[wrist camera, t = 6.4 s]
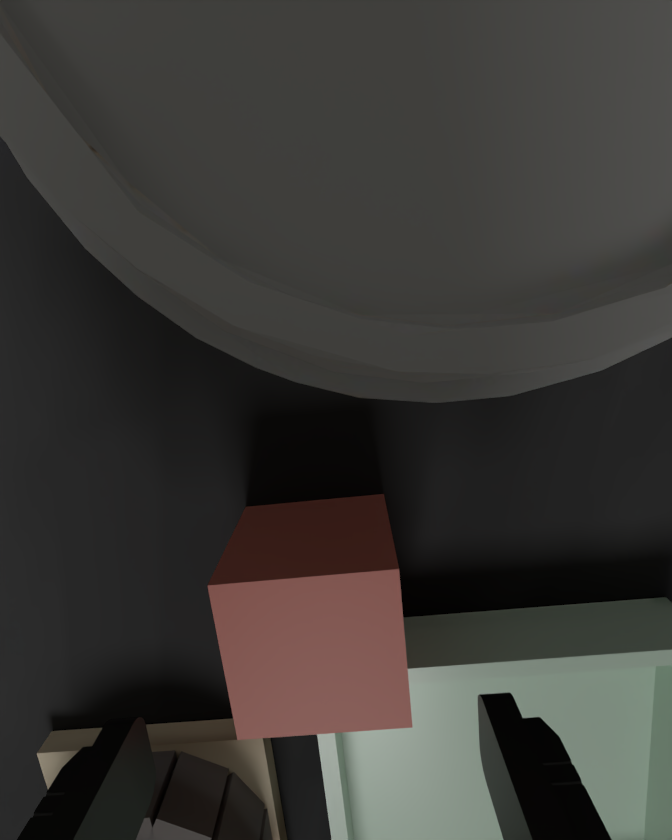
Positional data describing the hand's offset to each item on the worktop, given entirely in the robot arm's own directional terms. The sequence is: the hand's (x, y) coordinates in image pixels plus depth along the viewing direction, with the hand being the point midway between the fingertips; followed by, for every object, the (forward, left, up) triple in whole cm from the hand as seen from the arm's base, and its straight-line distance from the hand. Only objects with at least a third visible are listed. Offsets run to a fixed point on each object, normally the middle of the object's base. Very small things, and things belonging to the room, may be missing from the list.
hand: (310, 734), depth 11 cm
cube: (-1, 0, -7) cm, 7 cm away
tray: (+9, +6, -7) cm, 12 cm away
